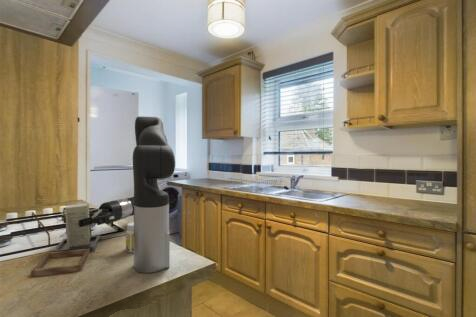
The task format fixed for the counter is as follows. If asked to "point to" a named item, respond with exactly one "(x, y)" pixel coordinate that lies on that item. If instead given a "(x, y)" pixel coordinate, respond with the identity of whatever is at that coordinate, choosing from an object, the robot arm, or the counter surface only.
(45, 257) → the frame
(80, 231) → the skincare box
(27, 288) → the counter surface
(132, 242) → the supplement bottle
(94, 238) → the charcoal seat plate
